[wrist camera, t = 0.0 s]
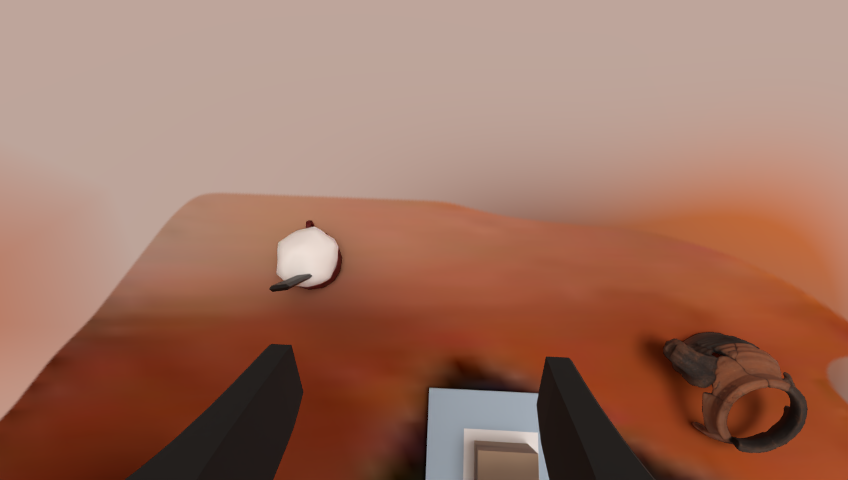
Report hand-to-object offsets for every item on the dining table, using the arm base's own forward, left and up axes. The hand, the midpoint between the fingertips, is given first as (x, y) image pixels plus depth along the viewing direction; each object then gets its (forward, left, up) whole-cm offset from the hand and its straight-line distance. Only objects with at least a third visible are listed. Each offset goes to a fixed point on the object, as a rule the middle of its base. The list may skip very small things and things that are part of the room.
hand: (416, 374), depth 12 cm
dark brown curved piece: (0, -26, -33) cm, 42 cm away
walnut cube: (-9, -6, -31) cm, 33 cm away
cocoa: (+10, +14, -33) cm, 37 cm away
